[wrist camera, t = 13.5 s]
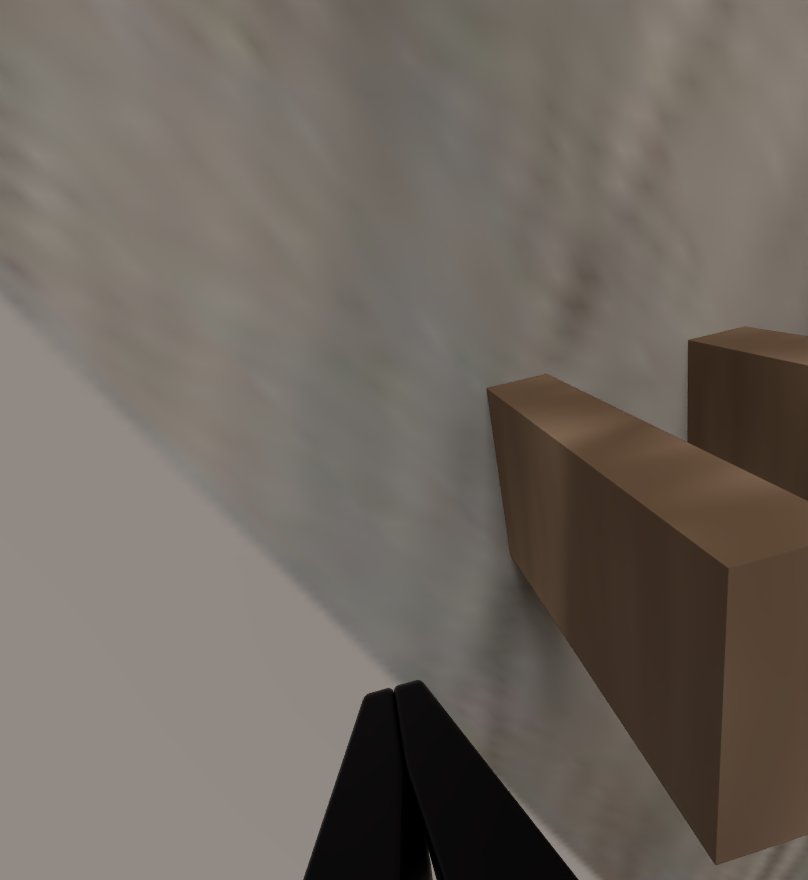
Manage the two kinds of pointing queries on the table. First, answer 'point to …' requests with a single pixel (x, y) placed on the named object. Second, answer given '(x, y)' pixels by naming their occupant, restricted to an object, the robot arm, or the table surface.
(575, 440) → the domino
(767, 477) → the domino
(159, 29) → the table surface
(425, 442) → the table surface
